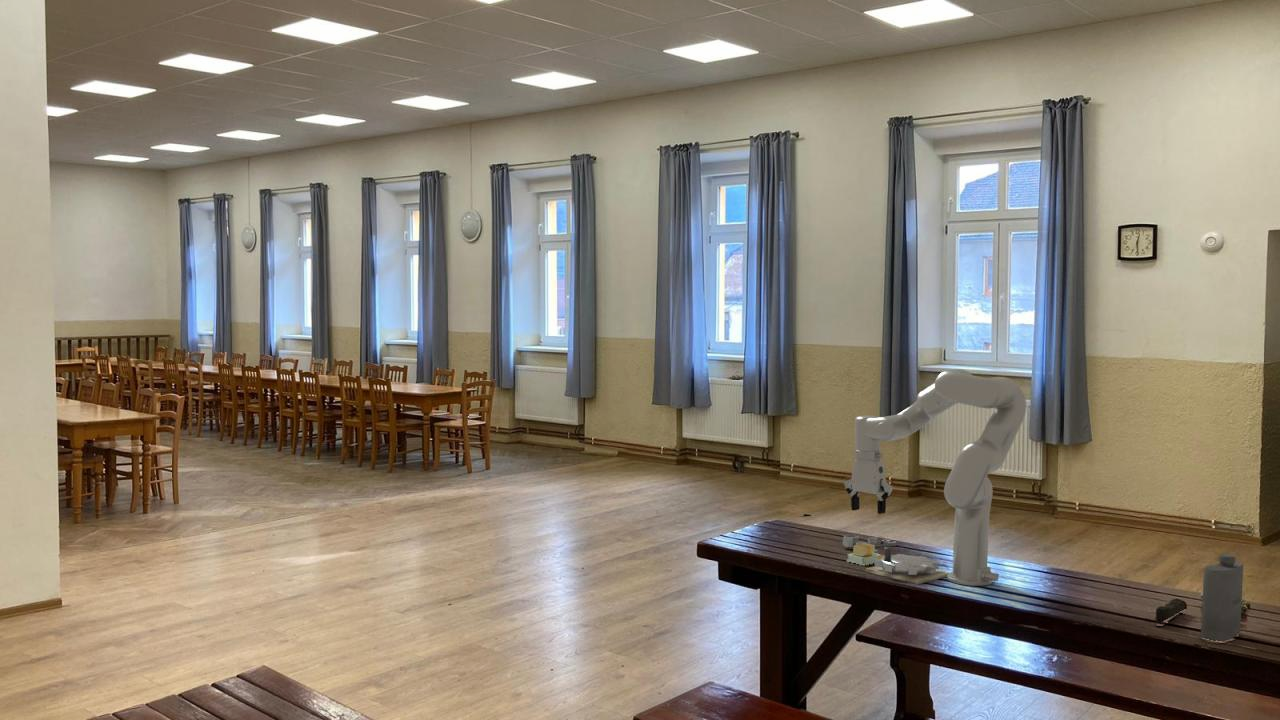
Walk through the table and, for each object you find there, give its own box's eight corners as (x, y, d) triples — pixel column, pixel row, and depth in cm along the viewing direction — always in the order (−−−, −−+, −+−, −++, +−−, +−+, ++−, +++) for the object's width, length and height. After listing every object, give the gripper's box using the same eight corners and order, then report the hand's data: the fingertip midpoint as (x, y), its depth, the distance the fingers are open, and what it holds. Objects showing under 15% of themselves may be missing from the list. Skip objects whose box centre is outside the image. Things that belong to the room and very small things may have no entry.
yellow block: (874, 559, 328) (875, 544, 328) (862, 561, 324) (863, 547, 324) (864, 557, 331) (865, 542, 330) (852, 559, 327) (853, 544, 326)
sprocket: (921, 559, 324) (921, 540, 323) (949, 574, 306) (950, 553, 305) (864, 560, 320) (865, 541, 320) (890, 575, 302) (891, 554, 302)
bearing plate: (948, 575, 312) (949, 570, 312) (917, 584, 301) (918, 578, 301) (897, 564, 325) (897, 559, 325) (865, 571, 315) (865, 566, 315)
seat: (881, 561, 328) (881, 554, 328) (863, 565, 322) (864, 558, 322) (864, 558, 333) (864, 550, 333) (846, 561, 327) (846, 554, 327)
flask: (1223, 646, 250) (1227, 562, 249) (1197, 640, 254) (1201, 557, 253) (1246, 634, 260) (1250, 553, 259) (1220, 628, 264) (1224, 549, 263)
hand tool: (1170, 611, 279) (1171, 594, 279) (1187, 615, 277) (1187, 597, 276) (1145, 626, 266) (1145, 608, 266) (1161, 629, 263) (1162, 611, 263)
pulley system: (827, 555, 340) (873, 559, 332) (827, 540, 340) (873, 544, 332) (857, 543, 363) (900, 547, 355) (857, 529, 363) (900, 532, 355)
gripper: (898, 457, 322) (899, 513, 322) (852, 453, 335) (852, 507, 335) (884, 459, 317) (884, 516, 317) (837, 455, 330) (838, 510, 330)
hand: (868, 511), depth 326 cm, fingers open, 9 cm apart
